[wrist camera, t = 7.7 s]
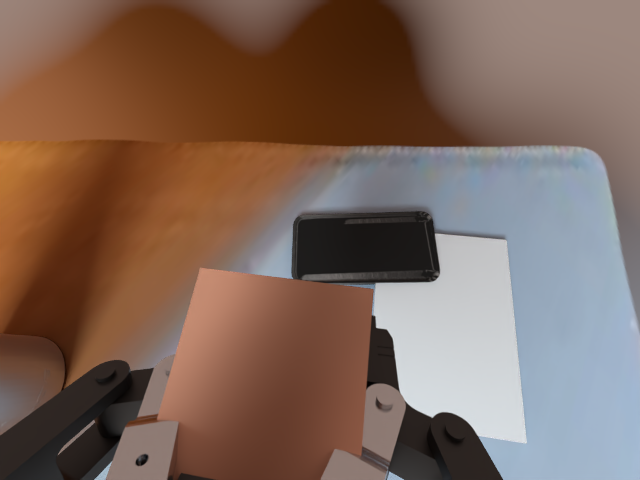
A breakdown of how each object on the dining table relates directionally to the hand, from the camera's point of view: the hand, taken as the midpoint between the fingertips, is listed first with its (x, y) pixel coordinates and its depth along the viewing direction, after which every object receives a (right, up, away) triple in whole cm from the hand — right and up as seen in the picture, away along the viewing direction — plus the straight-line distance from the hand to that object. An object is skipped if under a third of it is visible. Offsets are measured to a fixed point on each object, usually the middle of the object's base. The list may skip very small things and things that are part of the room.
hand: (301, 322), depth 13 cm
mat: (+13, -4, +16) cm, 20 cm away
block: (0, -3, +3) cm, 5 cm away
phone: (+5, +3, +19) cm, 20 cm away
